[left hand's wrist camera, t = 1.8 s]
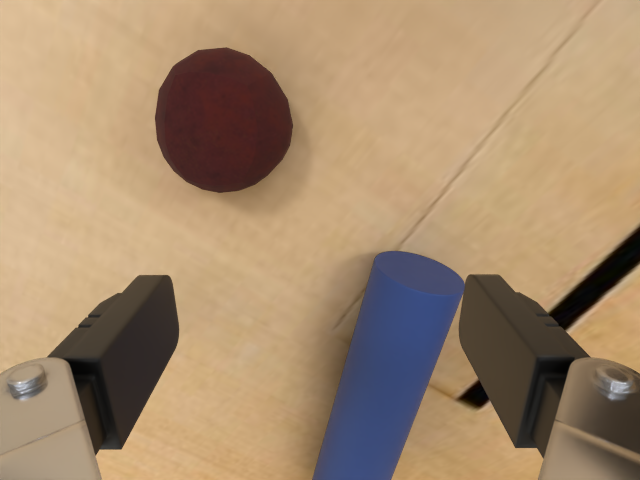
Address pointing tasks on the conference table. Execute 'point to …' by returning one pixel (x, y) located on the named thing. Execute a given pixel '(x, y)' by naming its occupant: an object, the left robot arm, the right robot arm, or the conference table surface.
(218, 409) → the conference table surface
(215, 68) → the plum
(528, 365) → the left robot arm
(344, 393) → the rod
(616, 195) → the conference table surface
